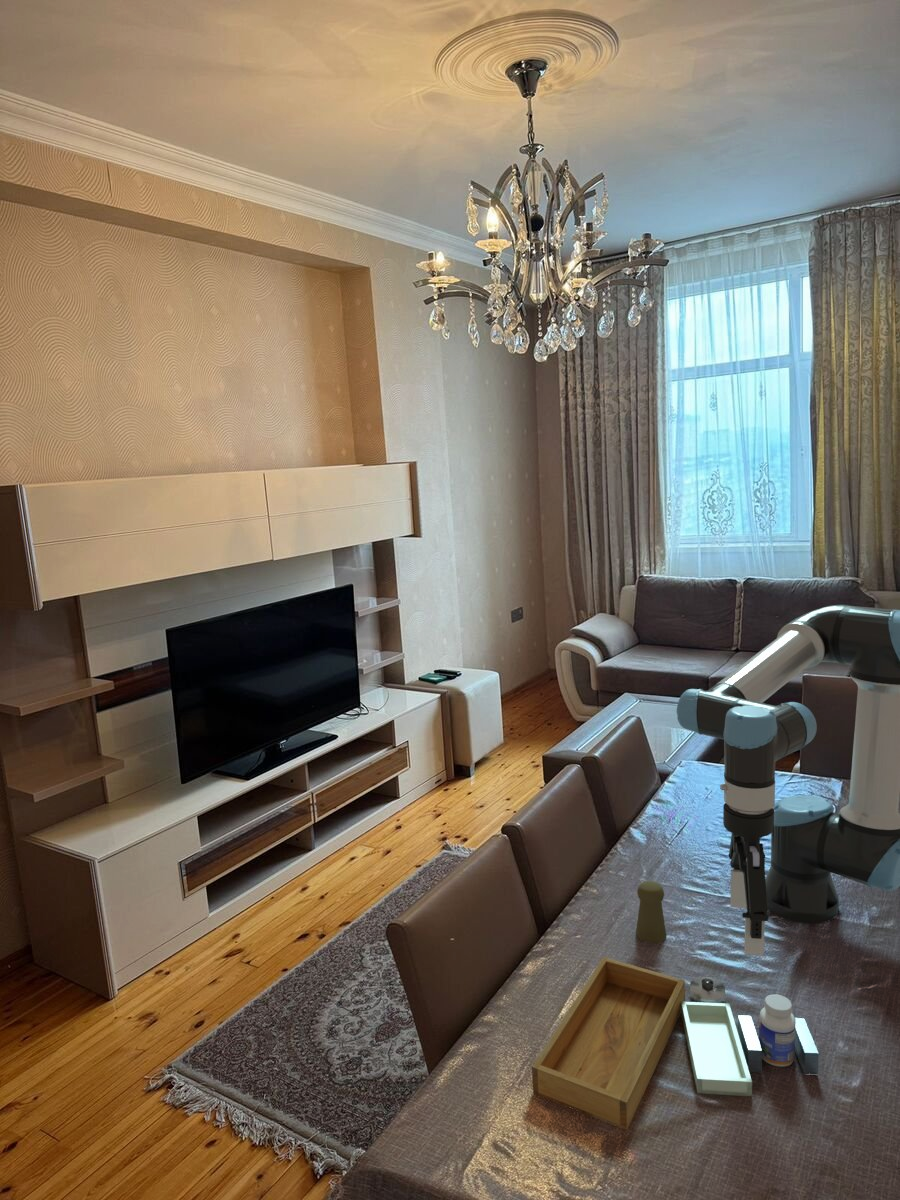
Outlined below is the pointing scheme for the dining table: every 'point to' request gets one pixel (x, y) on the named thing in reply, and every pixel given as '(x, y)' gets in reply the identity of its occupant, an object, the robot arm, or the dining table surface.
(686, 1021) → the tray
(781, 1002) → the pill bottle
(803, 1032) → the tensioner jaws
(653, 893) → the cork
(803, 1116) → the dining table surface
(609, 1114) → the tray
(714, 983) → the silver pot lid
